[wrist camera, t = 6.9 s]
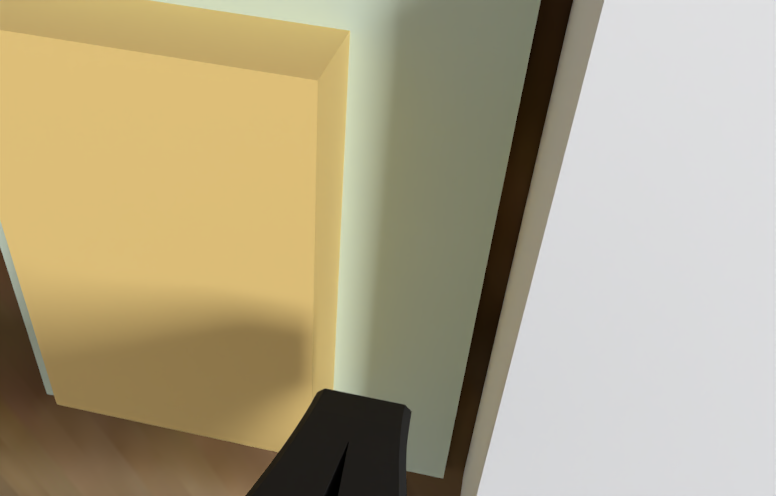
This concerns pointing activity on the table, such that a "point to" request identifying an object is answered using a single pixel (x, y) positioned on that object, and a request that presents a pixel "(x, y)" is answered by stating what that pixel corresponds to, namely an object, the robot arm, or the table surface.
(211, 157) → the yellow rectangular block
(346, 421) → the robot arm
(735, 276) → the white box
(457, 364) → the mat
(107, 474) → the table surface
